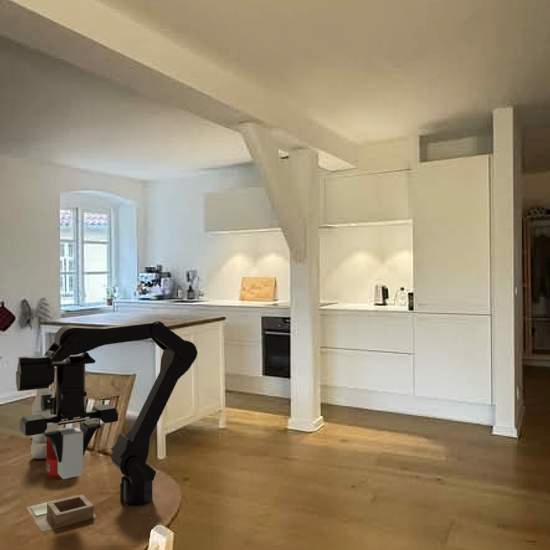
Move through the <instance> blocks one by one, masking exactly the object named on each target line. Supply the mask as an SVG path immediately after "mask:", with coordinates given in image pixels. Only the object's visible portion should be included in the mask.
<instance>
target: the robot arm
mask: <svg viewBox="0 0 550 550" xmlns="http://www.w3.org/2000/svg"><path fill="white" fill-rule="evenodd" d="M142 340H143V341H144V340H152V341H153V343H155V344H156V346H158V347H159V348H160V349H161V350H162V355H161V358H160V366H159V367H160V368H159V372H158V375H157V377H156V379H155V381H154V382H153V384H152V387H151V389H150V391H149V393H148V395H147V397H146V400H145V402H144V404H143V406H142V407H141V410H140V412H139V414H138V416H137V418H136V419H135V422H134V424H133V426H132V428H131V429H130V430H129V431H128V432H127V433H125V435H124V434H123V433H119V434H118V436H117V438H116V442H115V443H114V445H113V446H112V448H111V449H110V450H111V451H112V453H111V457H110V458H111V462H112V464H113V465H114V467H115V468H116V469H117V471H119V472H120V474H121V475H123V476H122V477H121V478H120V479H121V483H120V484H119V500H120V501H121V502H122V503H123V504H124V505H126V506H128V507H137V506H141V507H143V506H146V505H148V504H149V503H151V502H152V501H153V481H154V480H155V477H156V474H157V473H156V472H157V471H156V470H155V469H154V468H153V467H151V466H150V464H148V463H147V461H148V457H149V454H150V447H151V446H150V444H151V438H152V435H153V433H154V431H155V429H156V427H157V424H158V423H159V421H160V418H161V417H162V414H163V413H164V410H165V408H166V406H167V404H168V402H169V399H170V397H171V395H172V393H173V391H174V390H175V387H176V385H177V383H178V381H179V379H181V378H182V377H183V376H184V375H185V374H186V373H187V372H188V371H189V370H190V368H191V367H192V365H193V364H194V362H195V361H196V359H197V356H198V350H197V346H196V344H194V342H192V341H190V340H187V339H183V338H182V337H181V336H179V335H178V334H177V333H175V332H174V331H173V330H171V329H170V328H168V327H167V325H165V323H163V322H161V321H159V320H154V319H151V320H148V321H143V322H136V323H135V322H134V323H126V324H117V325H109V326H108V325H107V326H101V327H98V326H97V327H96V326H83V325H64V326H61V327H60V328H58V330H57V331H56V332H55V334H54V339H53V343H52V344H51V345H50V346H49V347H48V349H47V351H46V352H45V353H44V354H43V355H41V356H27V355H26V356H25V355H23V356H18V357H17V358H18V363H17V367H16V371H15V384H16V390H17V392H24V391H25V392H26V391H35V390H36V391H37V389H45V388H49V386H50V385H53V384H54V383H55V382H56V383H55V384H56V385H55V390H54V397H53V396H52V393H51V394H48V395H42V396H41V410H42V411H45V410H50V414H51V415H52V414H53V415H55V417H48V418H45V417H44V416H43V415H41V414H36V415H32V414H28V415H24V416H22V417H21V419H20V420H19V430H20V432H22V434H23V435H25V436H27V437H30V436H31V437H32V436H33V435H37V434H43V435H44V436H45V437H49V439H50V441H51V443H52V446H53V449H54V451H55V454H56V457H57V460H58V462H59V463H60V462H61V460H62V444H61V432H60V431H59V430H58V428H59V426H62V425H69V424H75V423H79V429H80V430H81V431H82V432H83V457H84V455H85V454H86V451H87V448H88V446H89V444H90V442H91V441H92V439H93V437H94V435H95V433H96V431H97V430H98V429H100V428H102V425H101V424H100V423H99V421H101V422H103V424H109V423H115V422H118V421H119V411H118V409H117V408H116V407H114V406H112V405H111V404H108V403H107V404H100V405H99V404H98V405H94V406H92V409H91V410H89V411H87V410H86V397H87V390H86V365H89V364H95V363H96V360H95V359H94V358H93V357H92V356H91V355H90V354H89V351H93V350H95V349H97V348H100V347H102V346H108V345H114V344H122V343H130V342H136V341H137V342H138V341H142ZM55 368H56V369H55ZM55 371H56V372H55ZM55 379H56V380H55Z"/></svg>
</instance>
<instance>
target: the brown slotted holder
mask: <svg viewBox="0 0 550 550" xmlns="http://www.w3.org/2000/svg"><path fill="white" fill-rule="evenodd" d="M25 509H26V511H27V512H28V513H29V514H30V516H31V518H32V520H33V521H34V523H35V524H36V525H37V527H38V529H39V530H40V532H41V533H43V532H46V531H50V530H55V529H57V528H62V527H65V526H69V525H72V524H76V523H81V522H84V521H89V520H91V519H95V518H98V516H97V514H96V513H94V505H93V504H92V502H91V501H90V500H89V499H88V498H87V497H86V496H85V495H84V494H82V493H81V494H75V495H71V496H67V497H63V498H59V499H58V498H57V499H55V500H50V501H47V502H42V503H38V504H34V505H29V506H26V507H25Z"/></svg>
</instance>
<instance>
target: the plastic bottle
mask: <svg viewBox="0 0 550 550" xmlns="http://www.w3.org/2000/svg"><path fill="white" fill-rule="evenodd" d="M48 394H51V395H52V394H53V393H52V386H50V385H49V388H45V389H36V395H37V396H36V398H35V400H34V401H33V403H31V404H32V405H31V415H36V414H41V415H43V416H44V417H45V418H48V417H55V416H56V415H53V414H52V415H51V414H50V410H45V411H42V410H41V396H42V395H48ZM46 439H47V437H45V436H44V435H43V434H37V435H32V442H31V445H30V454H31V456H32V458H33V459H36V460H43V459H44V460H45V459H46Z"/></svg>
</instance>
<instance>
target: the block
mask: <svg viewBox="0 0 550 550" xmlns="http://www.w3.org/2000/svg"><path fill="white" fill-rule="evenodd" d="M71 428H72V429H66V430H60V432H61V444H62V460H61V462H60V463H59V462H58V474H59V475H60V476H61V477H62V478H61V479H62V480H65V479H70V478H74V477H80V476H84V456H83V432H82V431H81V430H80V428H78V427H71Z"/></svg>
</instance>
